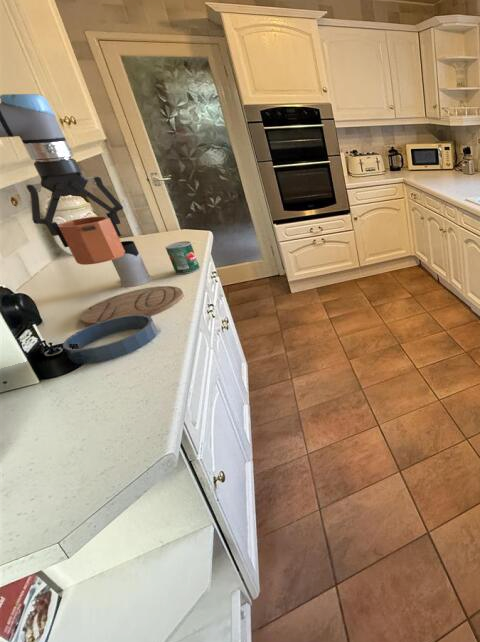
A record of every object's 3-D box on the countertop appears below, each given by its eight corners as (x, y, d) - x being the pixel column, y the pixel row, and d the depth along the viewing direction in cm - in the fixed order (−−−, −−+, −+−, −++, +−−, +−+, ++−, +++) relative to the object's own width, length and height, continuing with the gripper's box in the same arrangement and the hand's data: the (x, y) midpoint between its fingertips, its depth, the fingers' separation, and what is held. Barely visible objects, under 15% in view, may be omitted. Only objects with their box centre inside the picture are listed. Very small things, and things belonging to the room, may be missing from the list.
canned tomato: (173, 271, 156) (162, 245, 152) (197, 265, 162) (187, 239, 157) (178, 276, 152) (167, 249, 147) (202, 269, 157) (193, 243, 153)
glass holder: (118, 288, 142) (100, 250, 136) (129, 275, 154) (112, 239, 148) (149, 283, 146) (132, 245, 140) (157, 270, 158) (142, 234, 151)
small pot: (129, 257, 113) (113, 220, 108) (81, 269, 105) (60, 230, 101) (120, 248, 120) (103, 213, 116) (74, 258, 113) (54, 221, 108)
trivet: (77, 338, 112) (73, 332, 112) (88, 306, 130) (85, 301, 129) (185, 309, 127) (183, 304, 126) (182, 284, 145) (181, 279, 144)
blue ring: (54, 373, 98) (43, 354, 96) (103, 335, 113) (95, 319, 111) (135, 362, 101) (126, 344, 99) (172, 327, 117) (165, 311, 114)
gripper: (-15, 166, 91) (35, 255, 100) (115, 154, 107) (147, 232, 116) (-16, 164, 96) (32, 249, 105) (109, 153, 112) (141, 228, 121)
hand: (93, 240), depth 111 cm, fingers closed on small pot, 10 cm apart
